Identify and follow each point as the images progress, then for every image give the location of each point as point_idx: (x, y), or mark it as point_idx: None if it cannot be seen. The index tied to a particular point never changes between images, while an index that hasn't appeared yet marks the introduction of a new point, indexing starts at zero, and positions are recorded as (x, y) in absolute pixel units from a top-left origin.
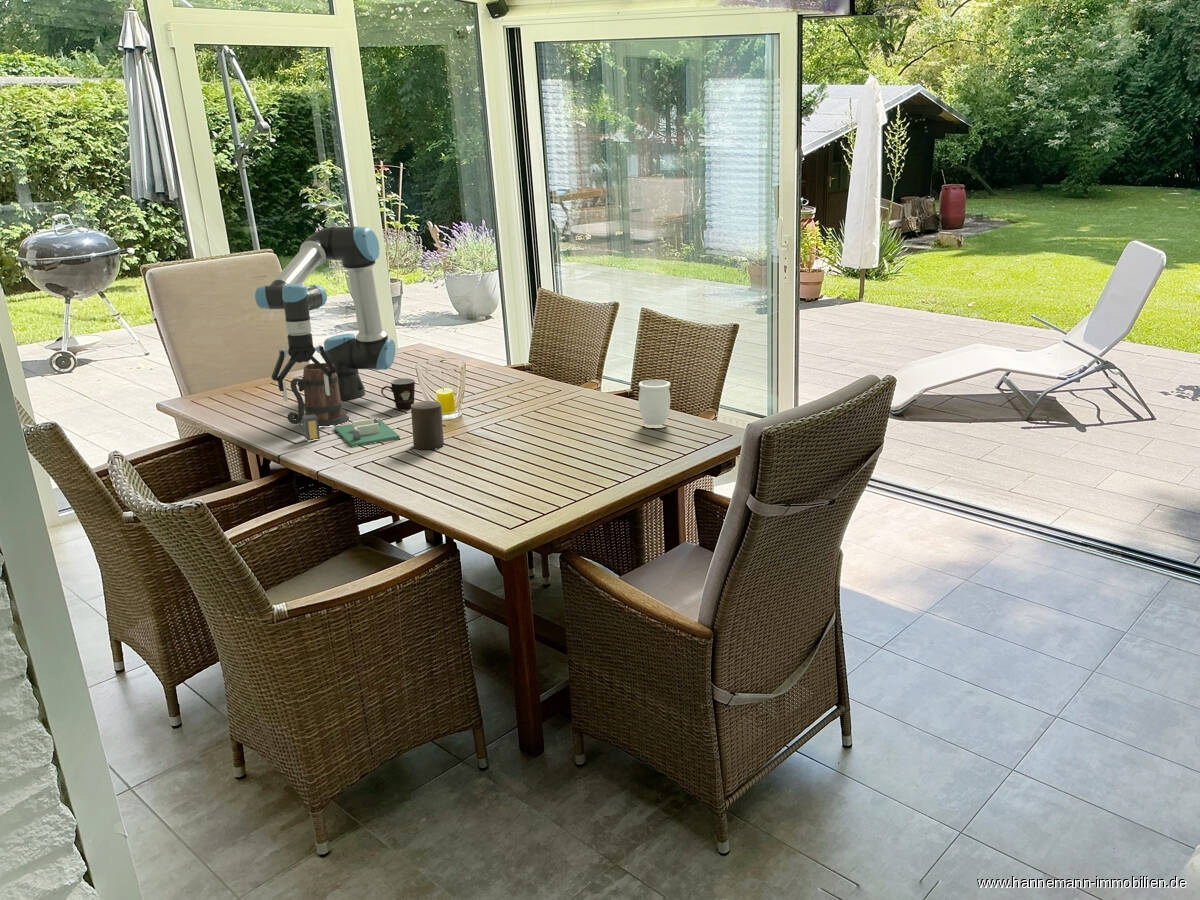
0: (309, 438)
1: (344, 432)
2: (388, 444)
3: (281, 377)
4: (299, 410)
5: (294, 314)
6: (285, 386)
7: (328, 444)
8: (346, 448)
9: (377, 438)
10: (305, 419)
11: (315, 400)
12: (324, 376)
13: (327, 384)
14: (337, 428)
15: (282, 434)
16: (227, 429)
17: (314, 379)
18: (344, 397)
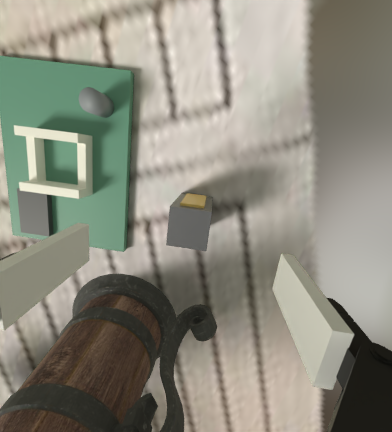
0: (207, 198)
1: (115, 191)
2: (40, 24)
3: (389, 379)
4: (177, 341)
5: None
6: (316, 303)
7: (177, 142)
8: (149, 71)
9: (53, 73)
10: (210, 211)
11: (123, 350)
12: (9, 305)
13: (42, 245)
14: (120, 234)
15: (236, 293)
16: (313, 396)
17: (79, 429)
18: None
